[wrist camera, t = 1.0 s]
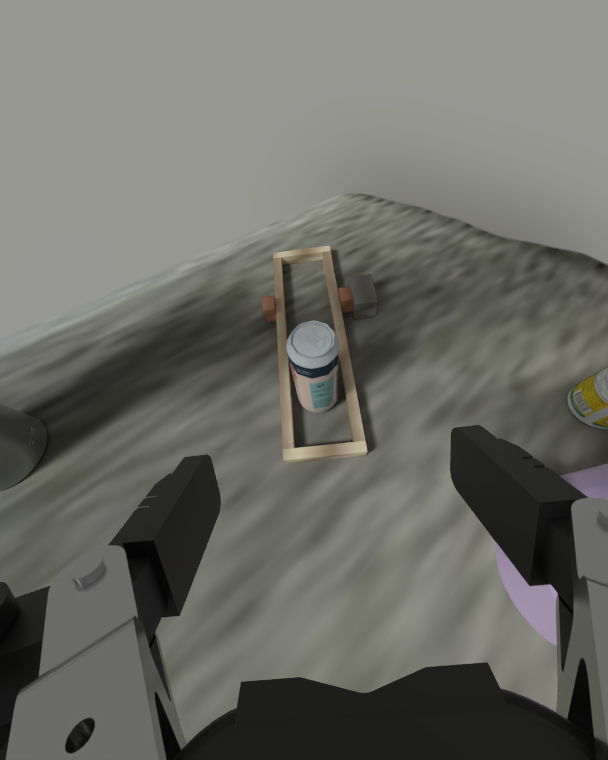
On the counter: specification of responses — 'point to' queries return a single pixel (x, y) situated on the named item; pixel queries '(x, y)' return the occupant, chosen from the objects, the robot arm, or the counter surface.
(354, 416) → the beam track
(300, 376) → the beer can
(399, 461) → the counter surface
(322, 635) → the counter surface
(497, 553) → the clip
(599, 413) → the supplement bottle
